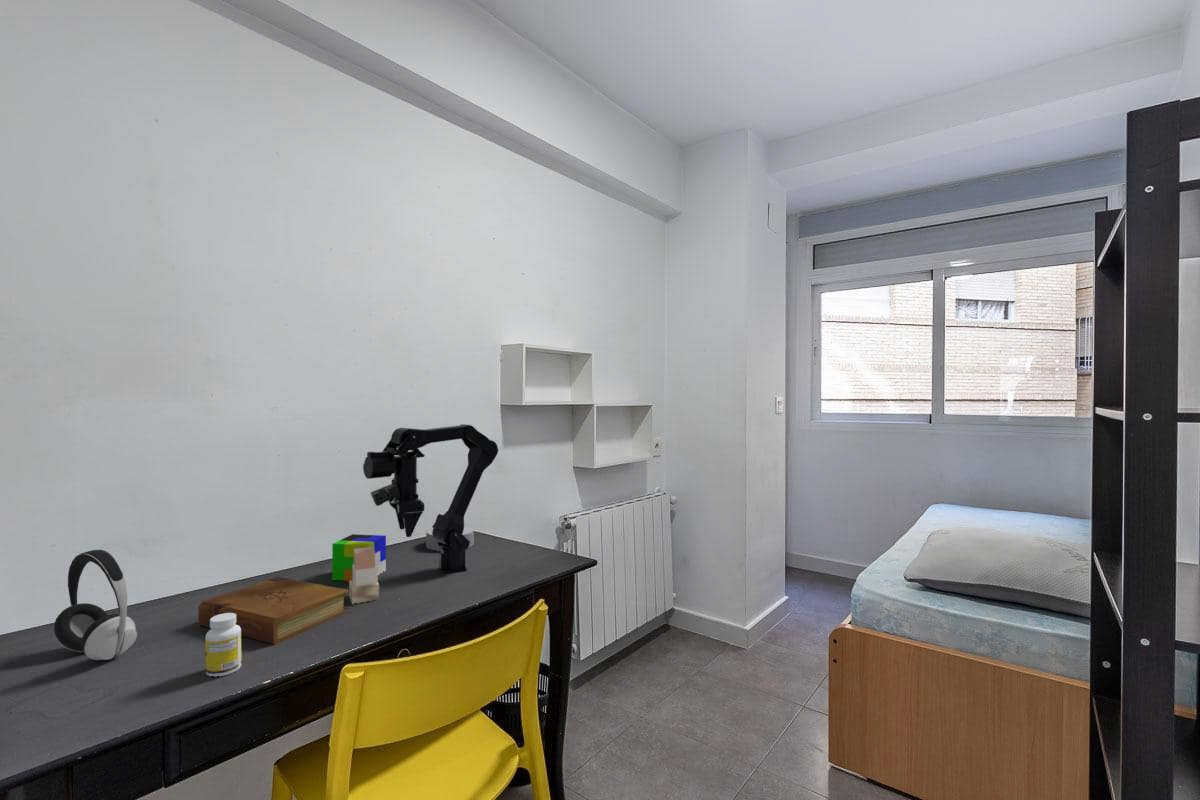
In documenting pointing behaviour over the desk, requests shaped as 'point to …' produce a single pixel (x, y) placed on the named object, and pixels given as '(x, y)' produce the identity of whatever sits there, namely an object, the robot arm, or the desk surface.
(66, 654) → the desk surface
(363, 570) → the tower top
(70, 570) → the headphones
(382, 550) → the puzzle toy
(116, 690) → the desk surface
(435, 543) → the grey bowl
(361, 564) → the cube
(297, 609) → the diary
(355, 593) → the tower base
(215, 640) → the supplement bottle
